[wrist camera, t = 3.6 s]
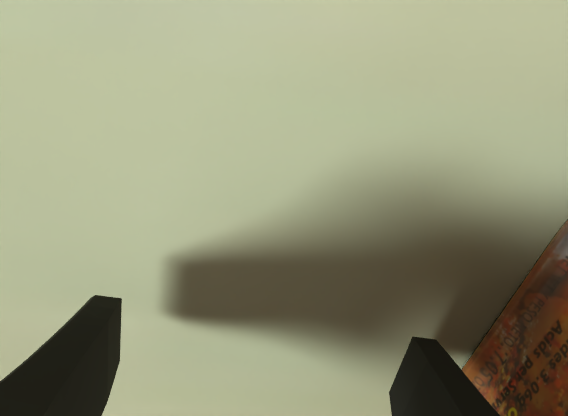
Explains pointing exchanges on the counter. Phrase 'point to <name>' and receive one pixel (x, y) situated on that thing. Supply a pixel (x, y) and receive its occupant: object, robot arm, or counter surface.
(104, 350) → the robot arm
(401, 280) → the counter surface
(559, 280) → the tin
